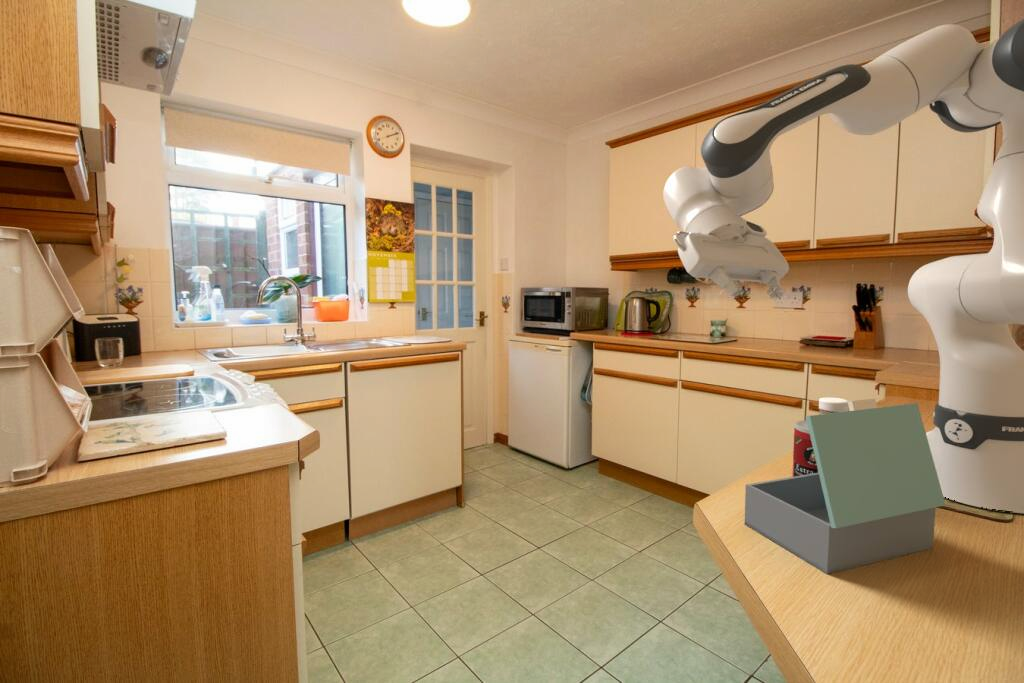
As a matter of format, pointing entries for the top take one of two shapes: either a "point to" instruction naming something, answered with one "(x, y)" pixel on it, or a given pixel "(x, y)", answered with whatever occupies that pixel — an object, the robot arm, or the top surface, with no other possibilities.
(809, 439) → the canned food
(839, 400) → the sprinkles bottle
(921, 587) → the top surface
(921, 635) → the top surface
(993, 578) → the top surface
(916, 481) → the mailer lid
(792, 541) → the box
